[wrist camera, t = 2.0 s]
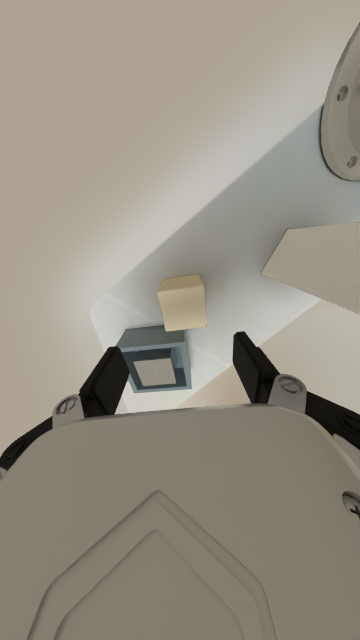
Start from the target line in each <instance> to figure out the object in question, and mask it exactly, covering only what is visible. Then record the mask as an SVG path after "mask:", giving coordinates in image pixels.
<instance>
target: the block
mask: <svg viewBox="0 0 360 640" xmlns="http://www.w3.org/2000/svg"><path fill="white" fill-rule="evenodd" d="M133 362H134V365H135V367H136V370H137V372H138V375H139V377H140V380H141V382H142V385H143V386H150V385H163V384H176V378H177V359H176V354H175V349H174V347H170V348H160V349H150V350H140V351H137V354H136V356H135V359H134V361H133Z"/></svg>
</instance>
